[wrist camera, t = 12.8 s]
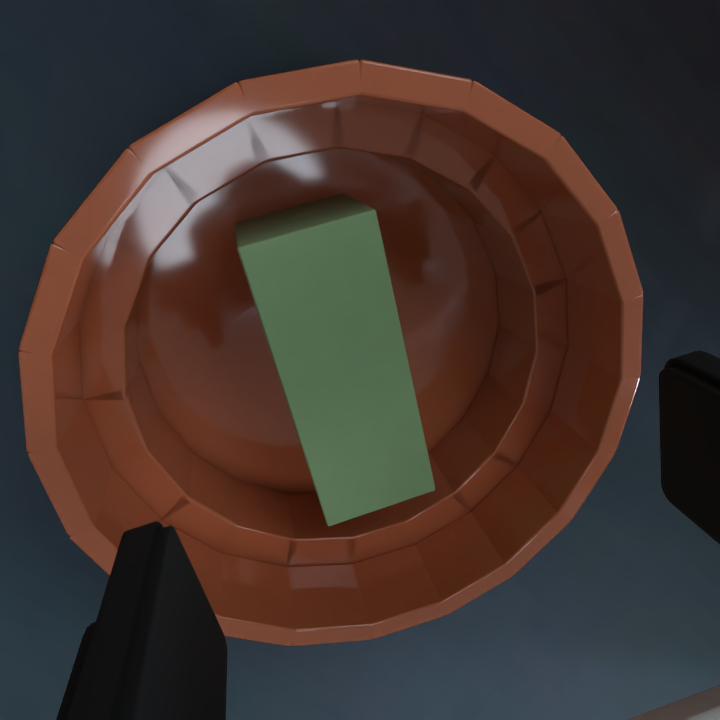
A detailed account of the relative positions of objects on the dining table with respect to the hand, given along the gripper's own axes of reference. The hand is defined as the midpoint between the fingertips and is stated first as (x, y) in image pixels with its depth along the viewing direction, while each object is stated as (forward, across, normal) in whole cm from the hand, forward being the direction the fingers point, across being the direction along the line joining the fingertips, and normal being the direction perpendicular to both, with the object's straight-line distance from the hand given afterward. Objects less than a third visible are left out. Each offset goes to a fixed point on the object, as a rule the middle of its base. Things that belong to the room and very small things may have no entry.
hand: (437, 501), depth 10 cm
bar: (+8, +1, -1) cm, 8 cm away
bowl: (+9, +1, -1) cm, 9 cm away
